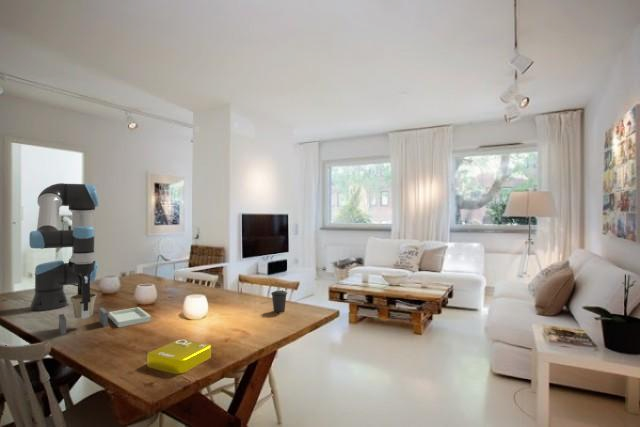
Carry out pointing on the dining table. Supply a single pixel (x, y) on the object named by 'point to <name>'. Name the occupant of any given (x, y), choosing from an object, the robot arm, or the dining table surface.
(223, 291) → the dining table surface
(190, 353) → the element tile
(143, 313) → the tray
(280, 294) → the coffee cup
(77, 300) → the flower pot
